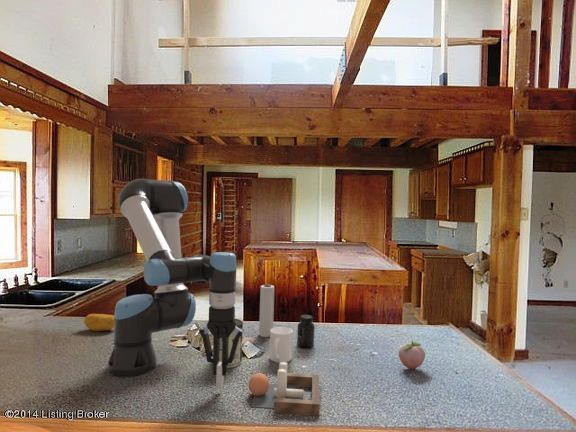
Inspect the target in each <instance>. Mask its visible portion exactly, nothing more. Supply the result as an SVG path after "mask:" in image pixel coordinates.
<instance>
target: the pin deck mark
mask: <svg viewBox="0 0 576 432" xmlns="http://www.w3.org/2000/svg"><path fill="white" fill-rule="evenodd" d="M274 388H277V383H269V389H268V391H267V392H266V393H265V394H264V395H261V396H256V395H254V396H253V399H252V402H251V406H250V407H251V408H259V409H273V410H274V400H275V398H277V397H274ZM287 389H298V386H297V385H287ZM287 399H297V398H287Z"/></svg>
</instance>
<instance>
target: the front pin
mask: <svg viewBox="0 0 576 432" xmlns="http://www.w3.org/2000/svg"><path fill="white" fill-rule="evenodd" d="M304 393H305V392H304V389H301V388H300V389H298V388H297V389H286V393H285V398H296V399H302V400H304ZM274 397H277V388H274Z"/></svg>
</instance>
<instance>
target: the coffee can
mask: <svg viewBox="0 0 576 432" xmlns="http://www.w3.org/2000/svg"><path fill="white" fill-rule="evenodd" d="M235 323H236V327H238V328H239V329H243V326H244V321H243V320H241V319H239V318H235ZM243 330H244V329H243ZM234 333H235V331H233V332H232V333H231V334H230V336H229V339H228V358H229V356H230V352H231V349H232V345H233V341H234V338H235V335H234ZM212 342H213V344H212V345H213V347H212V348H213V349H214V341H212ZM213 349H212V350H213ZM219 359H220V360H219V362H222V338H220V352H219ZM242 363H243V334H242V335H241V336H240V338H239V342H238V346H237V349H236V353H235V357H234V360H233V361H232V363H231V364H230V363H229V364H227V369H230V368H234V367H235V368H236V367H238V366H240V365H241V364H242Z"/></svg>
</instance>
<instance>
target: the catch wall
mask: <svg viewBox="0 0 576 432" xmlns="http://www.w3.org/2000/svg"><path fill="white" fill-rule="evenodd" d="M287 385H297V387H301V388H303V387H304V388H305V387H306V388H311V399H297V398H296V399H287V398H275V400H274V409H273V413H274V414H275V413H276V414H278V413H279V414H287V415H288V414H289V415H303V416H304V415H305V416H317V417H318V416H320V406H321V405H320V375H319V374H310V373H308V374H307V373H295V372H294V373H293V372H292V373H291V372H287Z"/></svg>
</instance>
